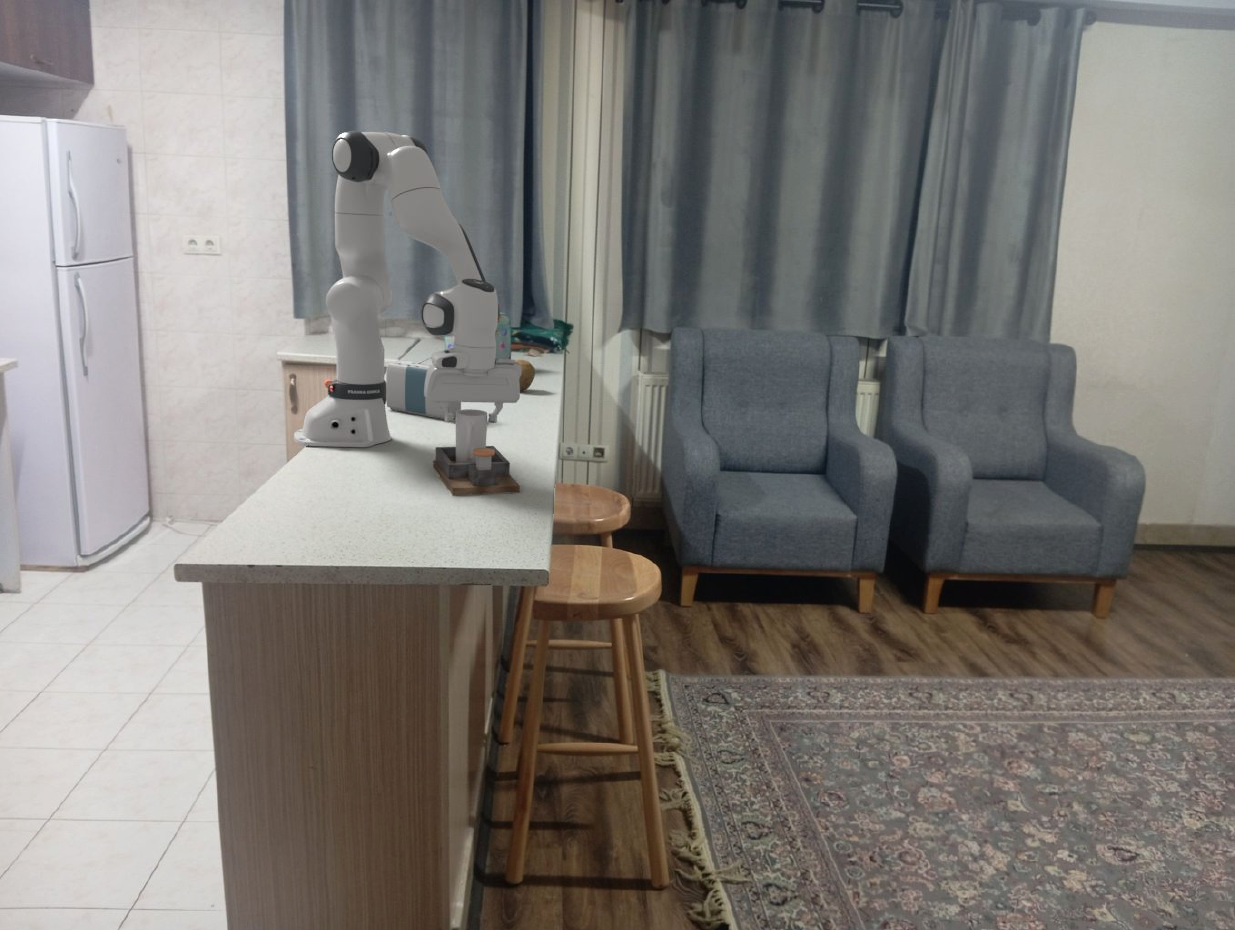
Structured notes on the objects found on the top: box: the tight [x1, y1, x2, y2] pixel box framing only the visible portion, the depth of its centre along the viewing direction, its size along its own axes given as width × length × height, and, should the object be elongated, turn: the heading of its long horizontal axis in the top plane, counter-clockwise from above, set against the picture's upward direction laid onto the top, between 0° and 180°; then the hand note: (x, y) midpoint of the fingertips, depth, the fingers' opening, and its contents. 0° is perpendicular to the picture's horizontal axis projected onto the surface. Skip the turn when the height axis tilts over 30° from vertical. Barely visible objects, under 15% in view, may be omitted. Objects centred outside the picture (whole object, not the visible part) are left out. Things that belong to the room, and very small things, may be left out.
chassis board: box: [432, 445, 521, 496], centre depth 216 cm, size 14×22×4 cm, turn 20°
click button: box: [473, 448, 495, 470], centre depth 208 cm, size 4×4×5 cm
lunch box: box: [443, 312, 512, 360], centre depth 341 cm, size 27×10×21 cm, turn 148°
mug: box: [455, 408, 488, 463], centre depth 217 cm, size 10×7×12 cm, turn 3°
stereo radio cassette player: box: [385, 347, 462, 421], centre depth 273 cm, size 21×8×20 cm, turn 62°
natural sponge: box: [514, 359, 536, 393], centre depth 315 cm, size 9×9×10 cm
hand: (470, 422), depth 217 cm, fingers open, 8 cm apart
